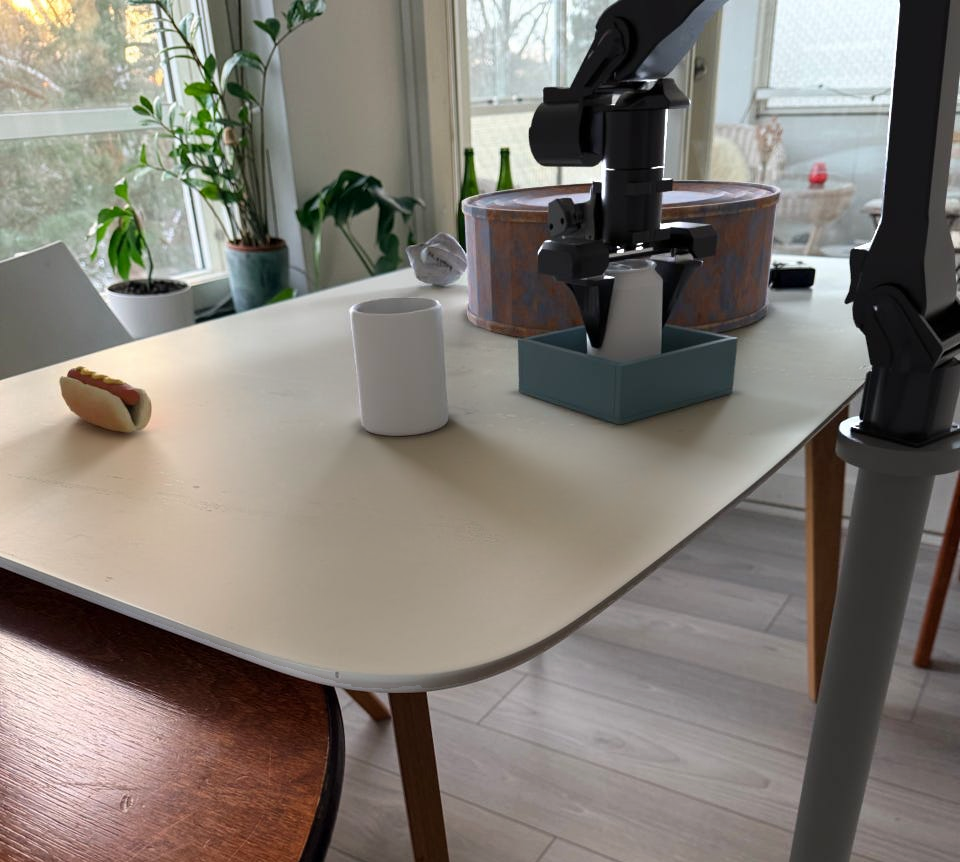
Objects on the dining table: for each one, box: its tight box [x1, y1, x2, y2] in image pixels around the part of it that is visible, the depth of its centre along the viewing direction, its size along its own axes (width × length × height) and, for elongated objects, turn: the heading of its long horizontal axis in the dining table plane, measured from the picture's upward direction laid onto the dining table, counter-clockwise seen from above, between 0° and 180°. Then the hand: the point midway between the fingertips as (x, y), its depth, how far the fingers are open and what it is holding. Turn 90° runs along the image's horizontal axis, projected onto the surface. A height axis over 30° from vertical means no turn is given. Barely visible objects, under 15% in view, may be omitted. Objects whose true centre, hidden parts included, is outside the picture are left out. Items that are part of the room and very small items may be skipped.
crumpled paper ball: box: [405, 231, 467, 286], centre depth 154 cm, size 11×9×8 cm
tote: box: [517, 324, 739, 426], centre depth 93 cm, size 16×16×6 cm
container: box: [461, 179, 782, 338], centre depth 128 cm, size 43×43×15 cm
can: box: [587, 259, 663, 363], centre depth 91 cm, size 8×8×12 cm
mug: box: [349, 296, 449, 437], centre depth 87 cm, size 12×8×11 cm
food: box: [59, 365, 153, 434], centre depth 92 cm, size 14×6×5 cm, turn 45°
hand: (626, 341), depth 92 cm, fingers closed on can, 8 cm apart
